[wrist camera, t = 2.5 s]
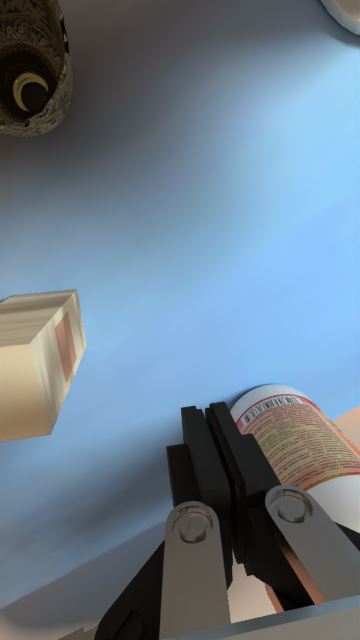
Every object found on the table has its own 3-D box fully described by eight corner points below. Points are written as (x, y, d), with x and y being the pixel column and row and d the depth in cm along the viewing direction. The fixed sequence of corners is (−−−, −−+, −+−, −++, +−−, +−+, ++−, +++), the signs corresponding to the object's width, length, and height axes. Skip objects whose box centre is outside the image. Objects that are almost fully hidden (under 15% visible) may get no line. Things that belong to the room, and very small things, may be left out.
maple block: (13, 295, 25) (-88, 357, 14) (77, 289, 26) (30, 344, 15) (26, 352, 27) (-54, 449, 16) (87, 345, 27) (51, 434, 16)
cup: (-37, 29, 20) (-142, -86, 13) (82, 31, 21) (51, -76, 13) (-10, 159, 22) (-84, 128, 15) (96, 156, 23) (77, 125, 16)
